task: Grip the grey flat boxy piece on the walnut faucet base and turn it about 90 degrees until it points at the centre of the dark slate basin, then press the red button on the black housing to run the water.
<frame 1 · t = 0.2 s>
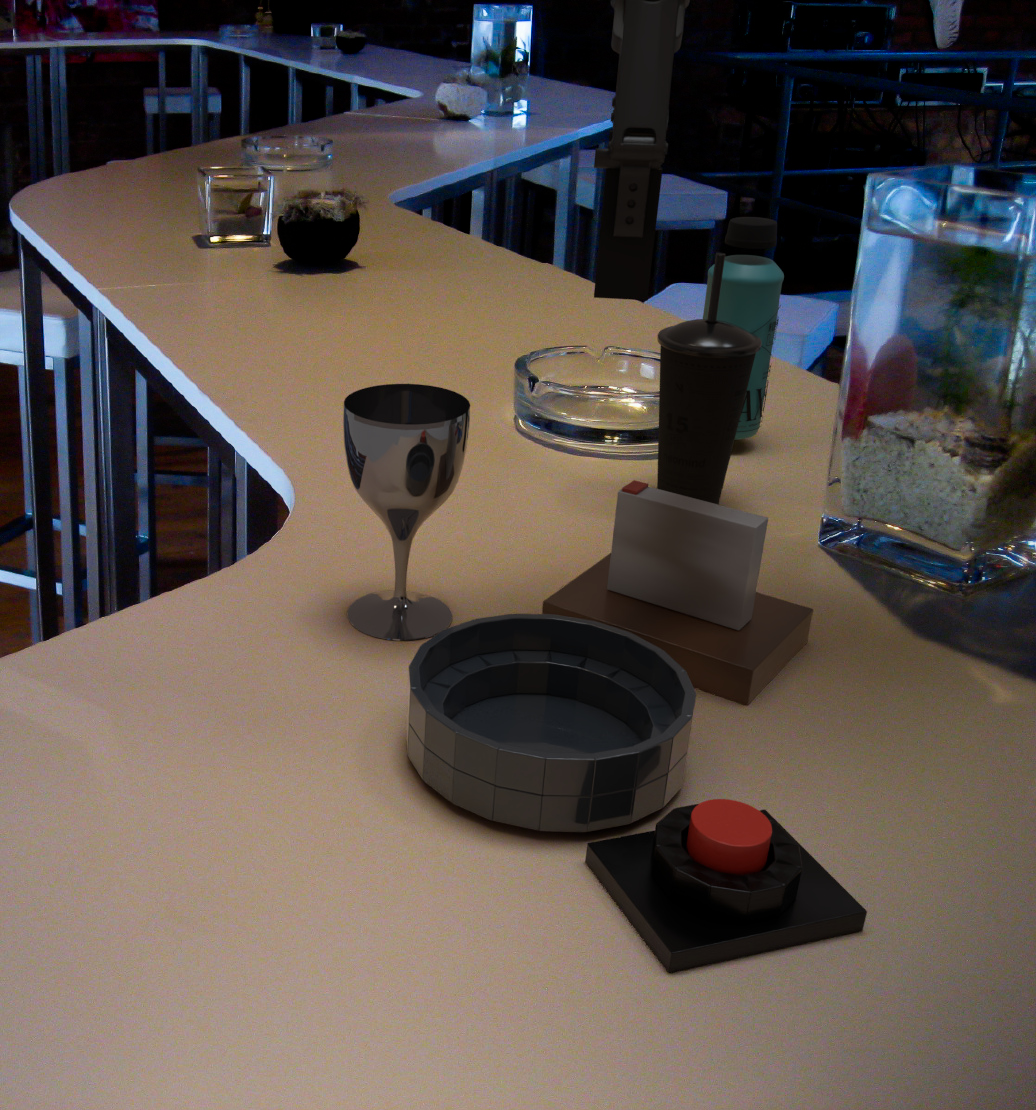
hand: (621, 268, 73), 24 cm above the worktop, tool pointing down, fingers open, 13 cm apart
beverage bottle: (720, 445, 117), on the worktop
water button: (728, 837, 60), point 3 cm above the worktop, slide at 0.1 cm
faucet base: (672, 638, 85), on the worktop
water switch: (718, 895, 62), on the worktop
grey flat boxy piece: (684, 553, 82), point 6 cm above the worktop, hinge at 0.0°
wine glass: (399, 617, 88), on the worktop
basin: (542, 756, 72), on the worktop
drinking cup: (686, 503, 105), on the worktop
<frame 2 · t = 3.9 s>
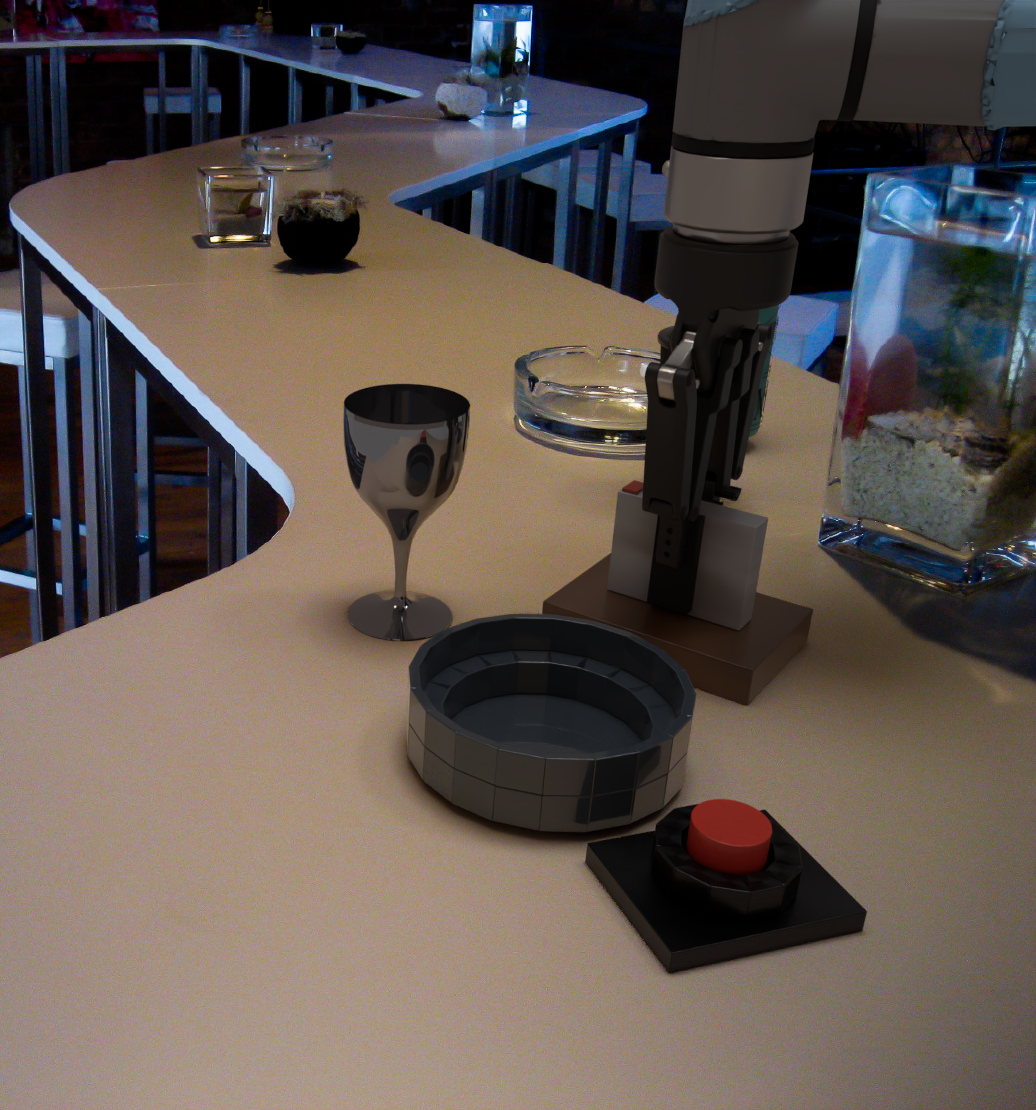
hand: (678, 598, 83), 3 cm above the worktop, tool pointing down, fingers closed on grey flat boxy piece, 2 cm apart
grey flat boxy piece: (684, 553, 82), point 6 cm above the worktop, hinge at 0.0°, touching gripper
everything else where it was.
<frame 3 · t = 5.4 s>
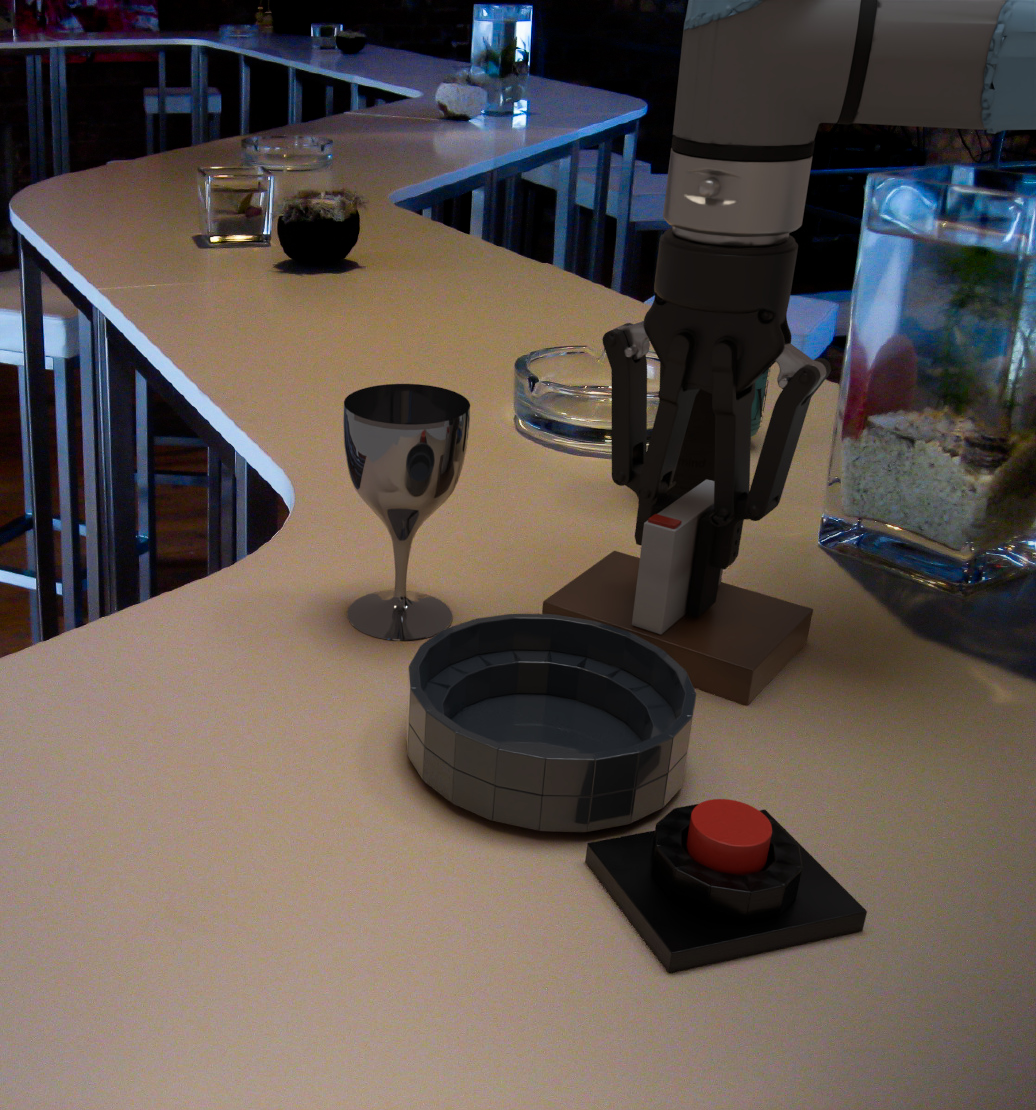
hand: (677, 599, 83), 3 cm above the worktop, tool pointing down, fingers open, 2 cm apart
grey flat boxy piece: (684, 553, 82), point 6 cm above the worktop, hinge at 89.8°
everything else where it was.
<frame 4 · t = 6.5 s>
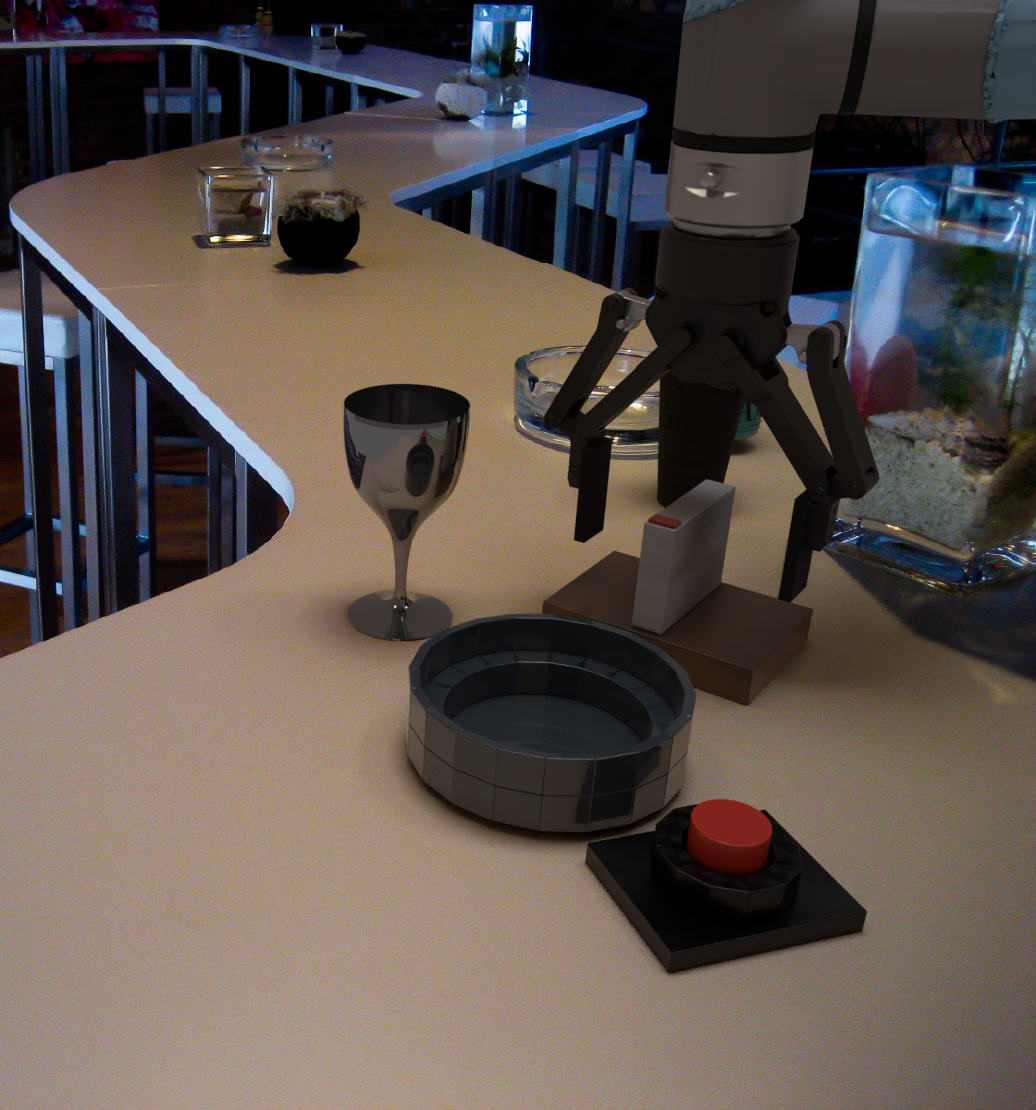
hand: (685, 563, 82), 5 cm above the worktop, tool pointing down, fingers open, 13 cm apart
nothing on the worktop moved.
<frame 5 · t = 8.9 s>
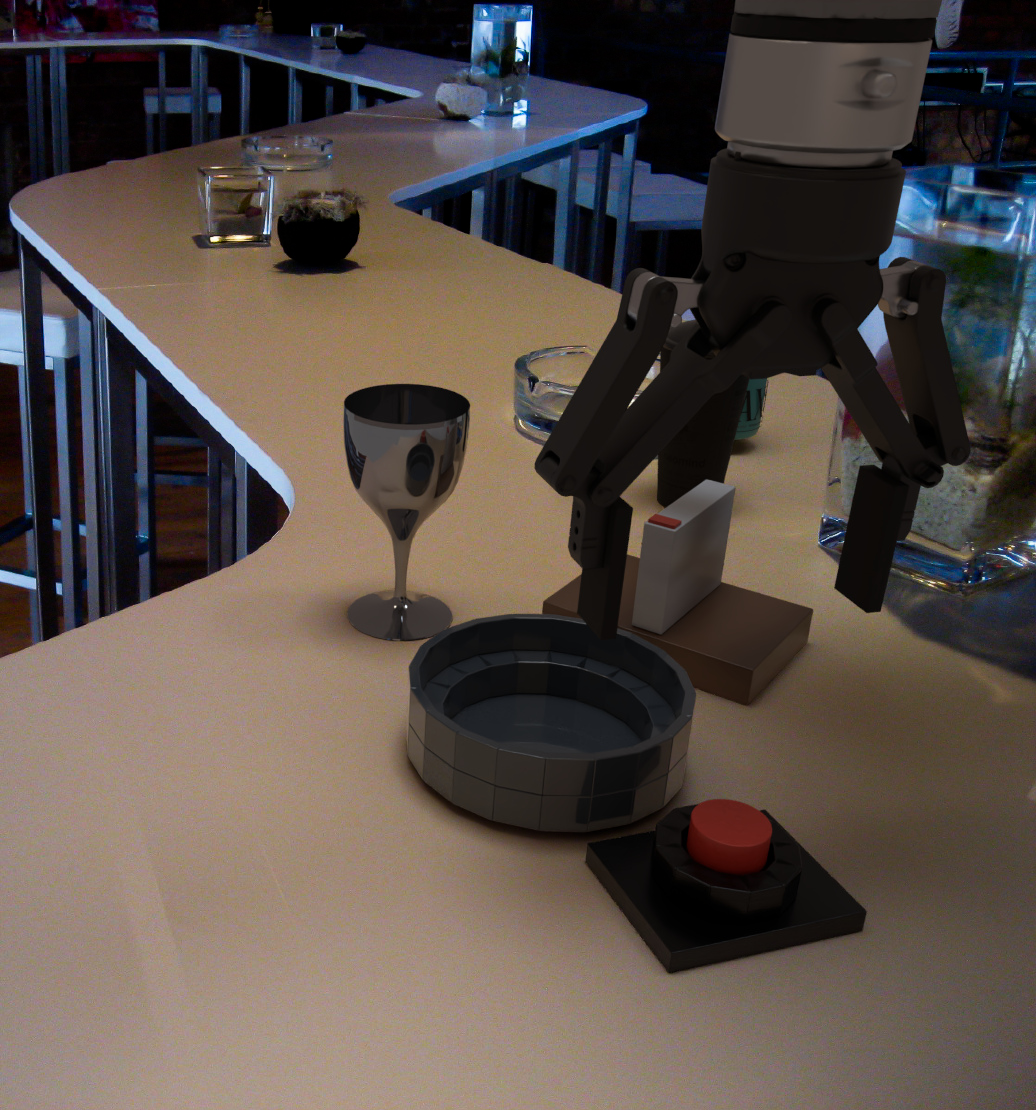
hand: (729, 613, 62), 12 cm above the worktop, tool pointing down, fingers open, 13 cm apart
nothing on the worktop moved.
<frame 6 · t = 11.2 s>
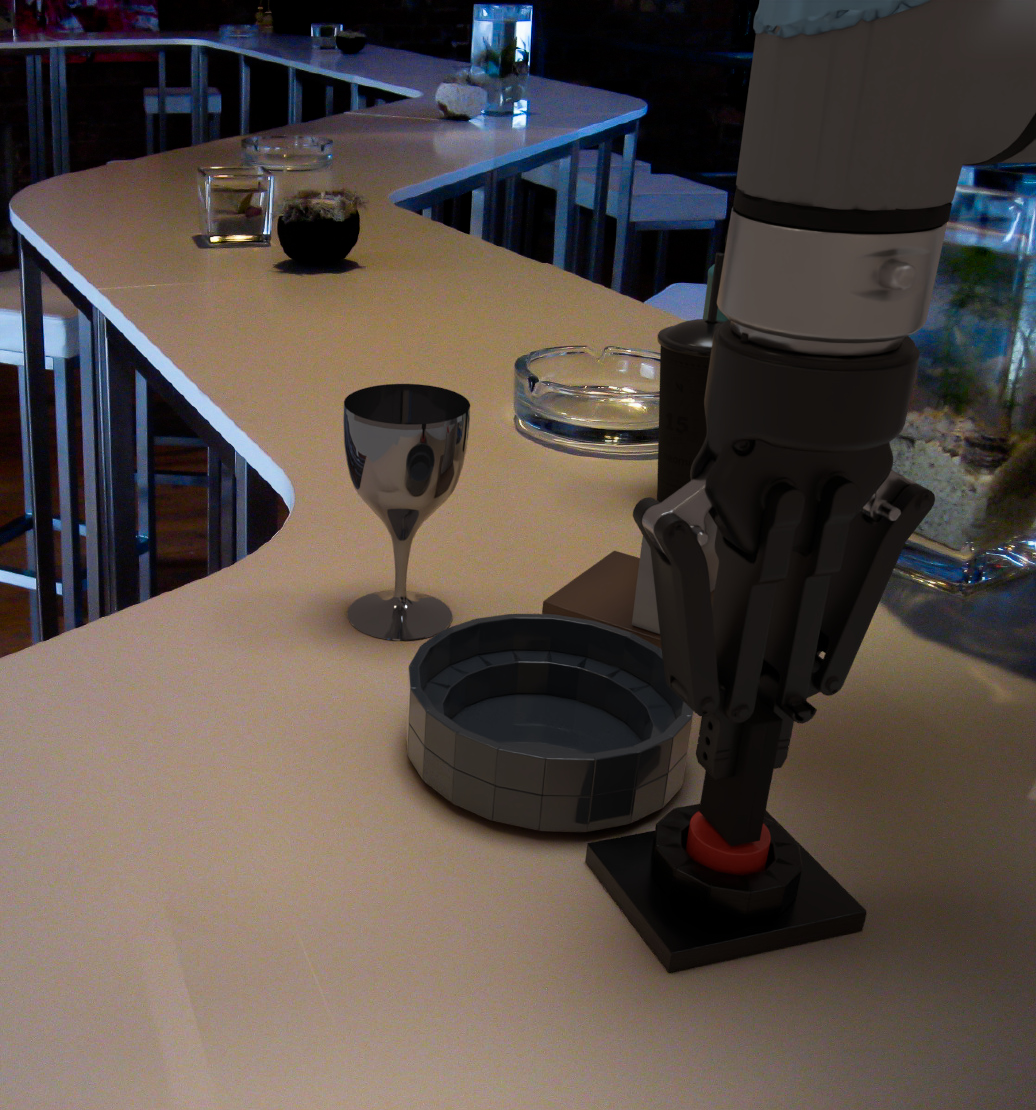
hand: (728, 825, 60), 4 cm above the worktop, tool pointing down, fingers closed
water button: (727, 844, 61), point 3 cm above the worktop, slide at -0.4 cm, touching gripper
everything else where it was.
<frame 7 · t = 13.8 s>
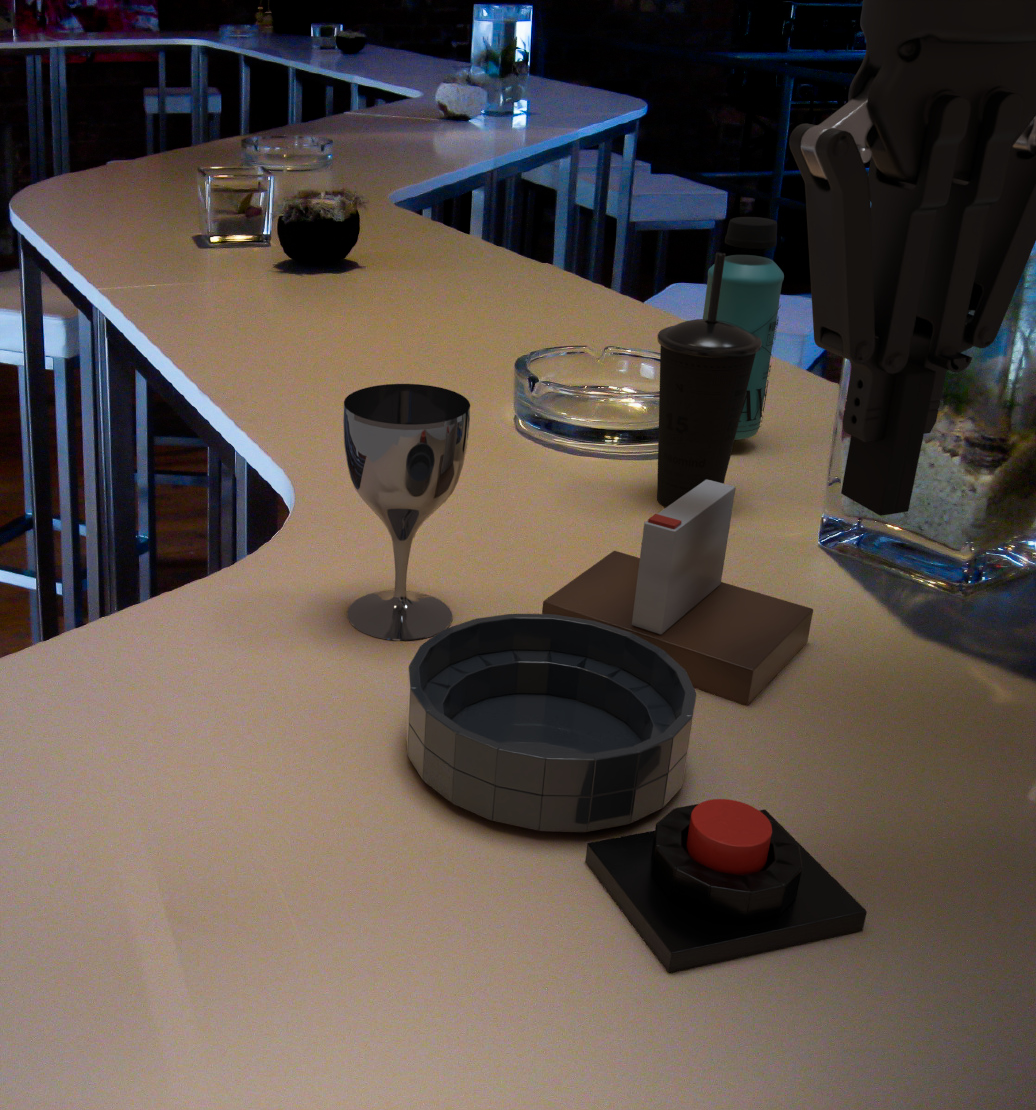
hand: (874, 501, 59), 18 cm above the worktop, tool pointing down, fingers closed
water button: (728, 837, 60), point 3 cm above the worktop, slide at 0.1 cm
everything else where it was.
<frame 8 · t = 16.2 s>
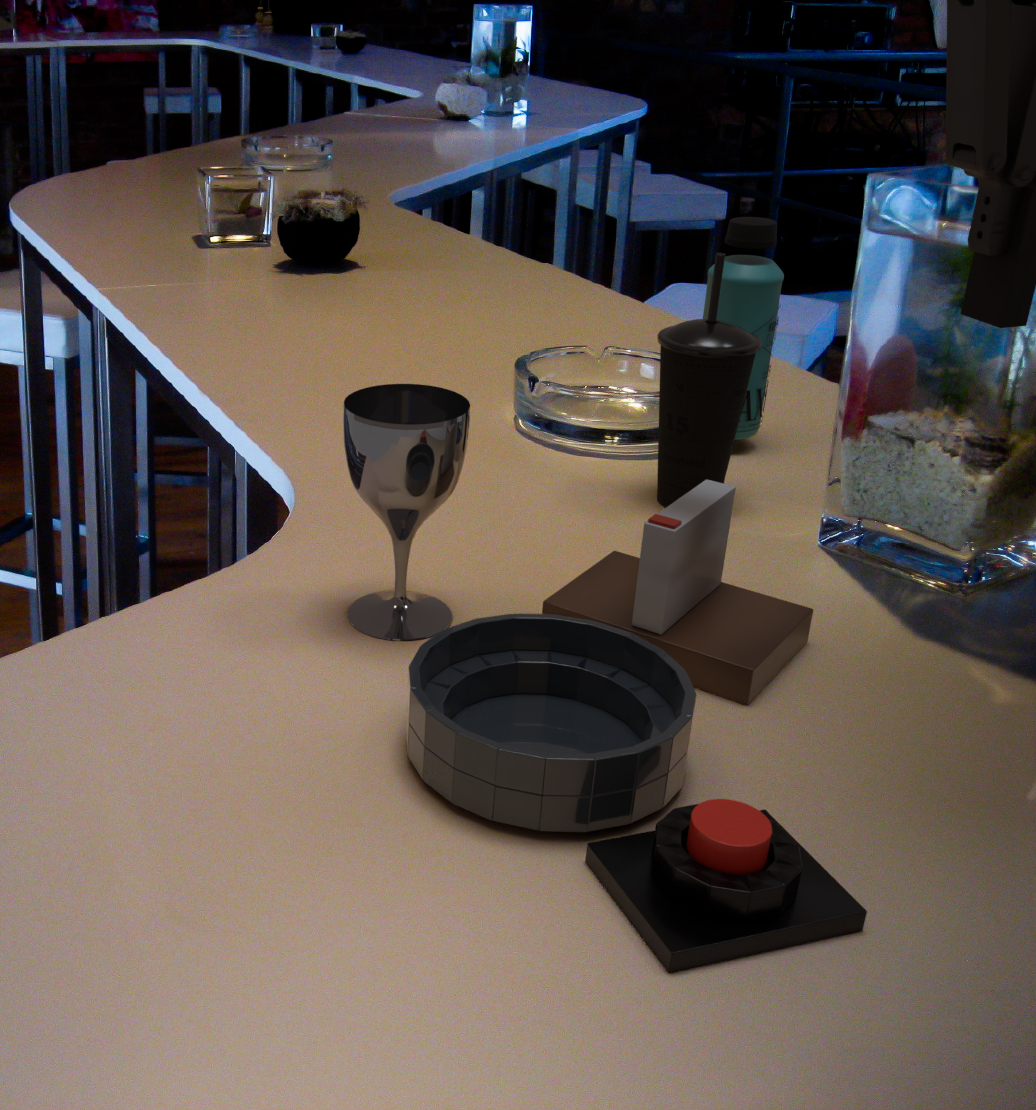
hand: (992, 319, 63), 24 cm above the worktop, tool pointing down, fingers closed
nothing on the worktop moved.
at the end: grey flat boxy piece at +90° (first picture: +0°); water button pushed in 1.0 cm at the most during the clip, back to where it started at the end; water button slide at 0.1 cm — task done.
